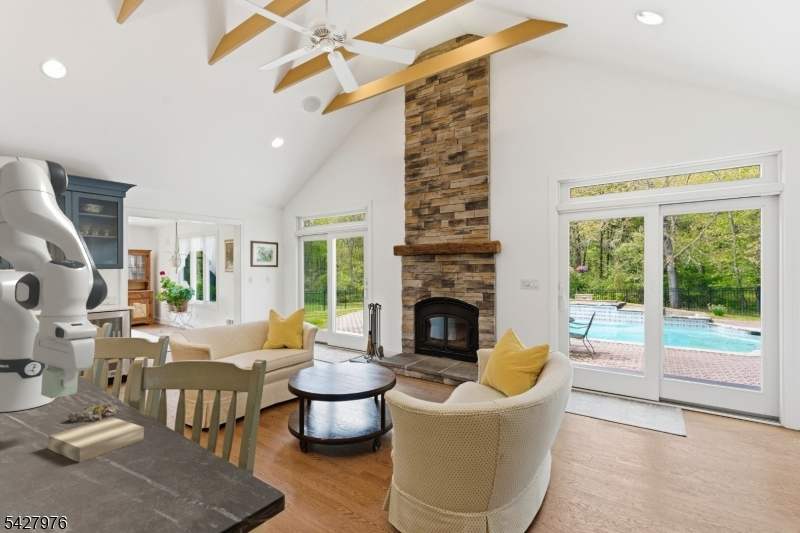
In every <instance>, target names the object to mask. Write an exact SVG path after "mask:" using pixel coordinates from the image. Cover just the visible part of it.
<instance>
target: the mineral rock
mask: <svg viewBox="0 0 800 533" xmlns="http://www.w3.org/2000/svg"><path fill="white" fill-rule="evenodd" d="M118 409H119V407H118V405H114V404H112V403H111V404H104V405H103V404H97V405H95V406H87V407H85V408H84V409H83V410H81V411H77V412H71V413H70V414H69V415H68V416H67V417H68V419H67V422H68V423H73V424H74V423H76V424H77V423H84V422H98V421H101V420H102V419H103V420H105V418H107V419H108V418H109V417H110V418H111V417H113V416H115V415H116V414H117V413H118ZM114 414H115V415H114ZM112 415H113V416H112Z"/></svg>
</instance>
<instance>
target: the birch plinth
mask: <svg viewBox="0 0 800 533" xmlns="http://www.w3.org/2000/svg"><path fill="white" fill-rule="evenodd" d="M144 440H145V426H142V425H139V424H135V423H133V422H129V421H127V420H124V419H123V420H122V419H119V418H117V417H113V416H111V417H110V418H107V419H103V420H98V421H93V422H91V423H87V424H83V425H81V426H76V427H74V428H70V429H67V430H64V431H59V432H55V433H53V434H48V443H47V444H48V445H47V447H48V448H47V449H48V450H49V451H52V452H54V453H57V454H59V455H62V456H63V457H66V458H68V459H70V460H73V461H75V462H78V463H82V462H85V461H88V460H91V459H93V458H96V457H99V456H102V455H104V454H108V453H110V452H113V451H116V450H119V449H121V448H125V447H128V446H131V445H132V444H133V445H134V444H135V443H138V442H141V441H144Z"/></svg>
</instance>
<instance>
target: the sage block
mask: <svg viewBox="0 0 800 533" xmlns="http://www.w3.org/2000/svg"><path fill="white" fill-rule="evenodd" d="M64 374H65V373H64V369H62V368H59V367H55V368H49V369H43V373H42V388H41V395H43V396H46V397H49V398H55V399H57V397H58V398H60V397H65V396H70V395H75V394H77V393H78V384H79V383H78V380H79V371H78V372H77V373H76V375H75V377H74V379H73V385H72V386H71V387H63V386H61V379H63V378H64Z"/></svg>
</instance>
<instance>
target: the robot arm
mask: <svg viewBox="0 0 800 533" xmlns="http://www.w3.org/2000/svg"><path fill="white" fill-rule="evenodd" d="M68 184H69V178H68V174H67V172H66V169H65V168H64V167H63V166H62V165H61V163H58V162H55V161H52V160H51V161H50V160H46V159H45V160H42V159H36V158H31V157H23V156H7V155H0V257H1V258H3V259H5V261H6V262H9V264H10V265H11V266H12V267H13V269H14V270H10V271H9V270H5V271H4V270H2V271H0V413H6V412H16V411H23V410H29V409H33V408H38V407H41V406H44V405H47V404H50V403H52V402H53V401H55V399H57V398H59V397H57V398H49V397H46V396H43V395H41V388H42V373H43V369H49V368H55V367H59V368H62V369H64V373H65V374H64V378H63V379H61V386H63V387H71V386H72V385H73V379H74V377H75V375H76V373H77V372H78V373H79V372H82V371H88V370H90V369H91V368H92V367H93V365H94V364H93V363H94V357H95V349H96V348H95V347H96V346H95V345H96V344H95V343H96V342H95V339H94V337H97V335H98V328H97V327H96V326H95V325H94V324H93V323H92V322H91V321H90V320H89V319H88V311H93V310H94V309H96V308H98V306H100V305H101V304H102V303H104V301H105V300H106V298H107V297H108V290H109V289H108V284H107V282H106V281H105V279H104V278H103V276H102V275H101V273H100V271H99V270H98V268H97V266H96V264H95V261H94V260H93V257H92V255H91V253H90V251H89V248H88V245H87V243H86V241H85V239H84V237H83V235H82V234H83V233H81V231H80V228H79V227H78V225H77V224H76V223H75V222H73V221H72V220H71V219H69V218H68V217H67V215H66V214H65V213H64V212H63V211H62V210H61V208H60V207H59V205H58V202H57V198H59V197H60V196H62V195H63V194H64V193H65V192H66V190H67V187H68V186H69V185H68ZM47 242H49V243H51V244H53V245H55V246H56V247H58V248H59V249H60V250H61V251H62V252H63V253H64V256H65V258H66V259H60V258H59V259H58V258H57V259H52V257H51V255H50V252H49V249H48V247H47V246H48V245H47ZM35 311H40V313H39V319H38V318H37V316H36V313H35Z"/></svg>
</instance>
